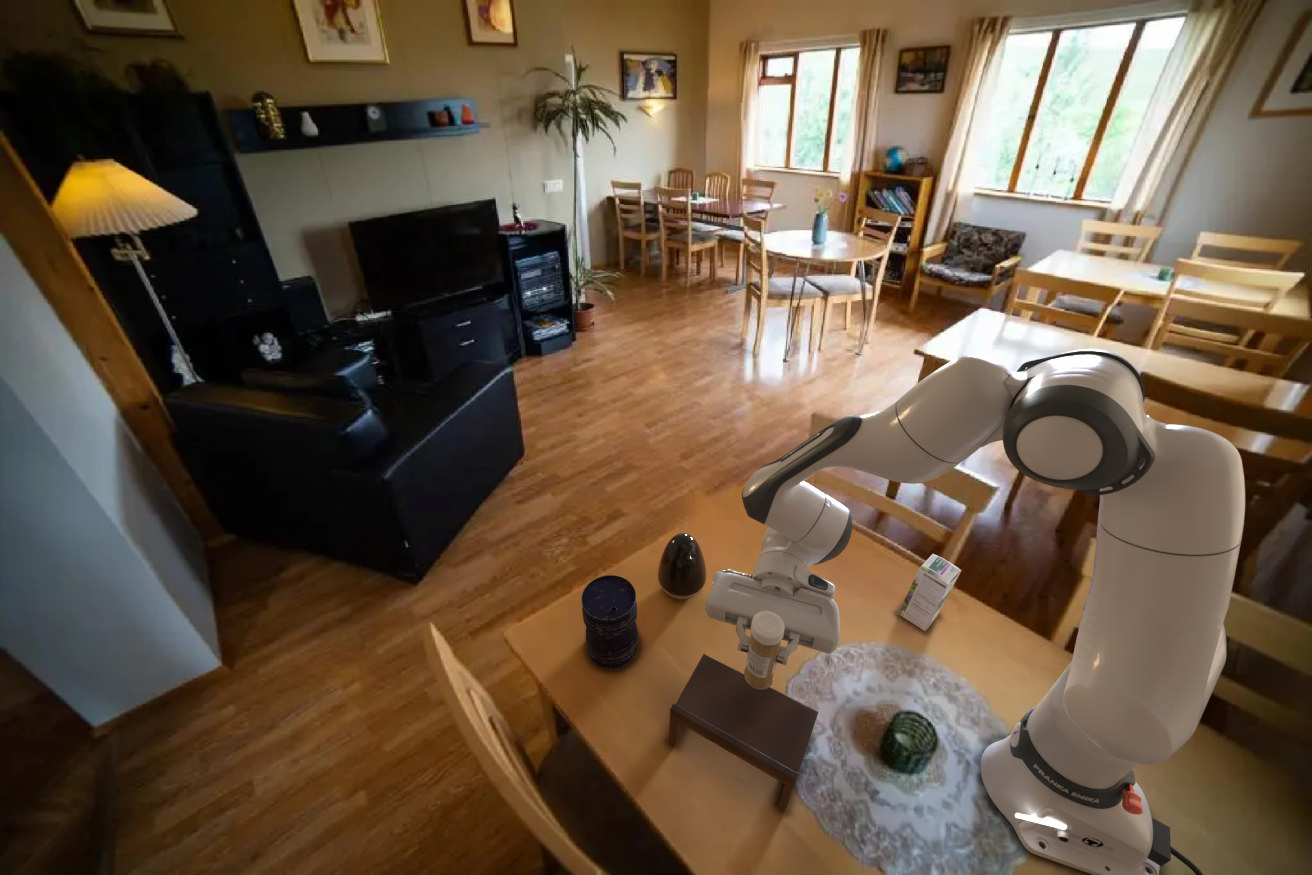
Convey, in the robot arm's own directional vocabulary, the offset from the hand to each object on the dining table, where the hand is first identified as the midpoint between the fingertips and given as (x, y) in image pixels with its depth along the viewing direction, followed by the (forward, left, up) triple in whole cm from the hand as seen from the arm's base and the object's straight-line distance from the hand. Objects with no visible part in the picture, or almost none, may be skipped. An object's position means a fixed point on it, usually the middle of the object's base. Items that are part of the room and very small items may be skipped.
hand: (762, 655), depth 77 cm
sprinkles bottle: (0, -1, -7) cm, 7 cm away
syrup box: (-21, -39, -22) cm, 49 cm away
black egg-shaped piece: (+24, -21, -22) cm, 38 cm away
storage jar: (+29, -2, -22) cm, 36 cm away
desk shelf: (+1, +2, -22) cm, 22 cm away
